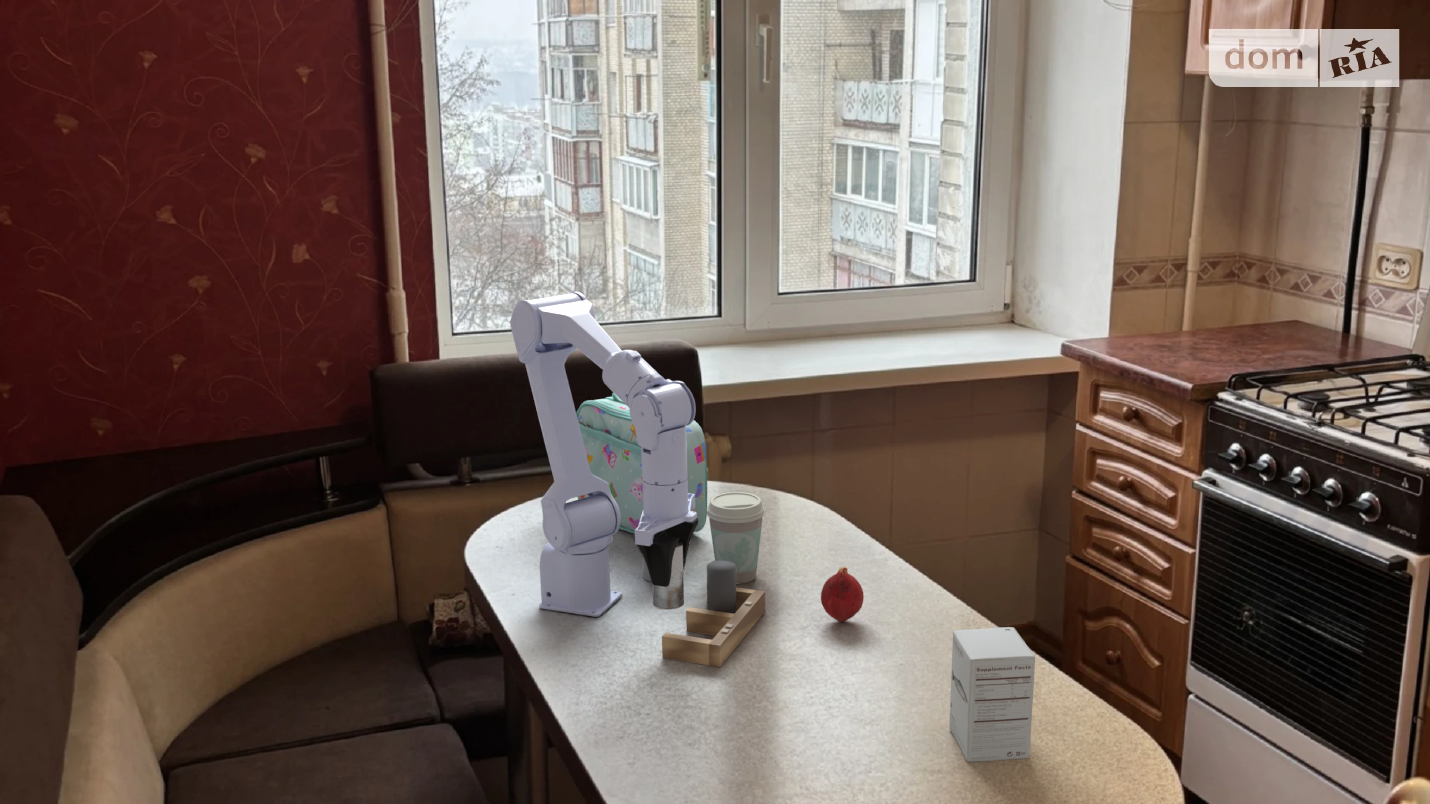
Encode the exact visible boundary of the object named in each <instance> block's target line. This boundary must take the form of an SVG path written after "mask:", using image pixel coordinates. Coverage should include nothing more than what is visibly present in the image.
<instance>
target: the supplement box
mask: <svg viewBox="0 0 1430 804" xmlns="http://www.w3.org/2000/svg"><path fill="white" fill-rule="evenodd" d="M951 649H952V650H951V652H952V655H951V675H950V676H951V677H950V696H949V697H950V699H949V701H950V703H949V722H948V723H949V726H948V727H949V730H950V732H951V733H952V735H953V737H954V739H955V740H956V742H957V743H958V746H959V748H960V750H961V751H962V754H963V756H964V759H965V760H966V761H967V762H968V763H973V762H975V763H977V762H990V761H991V762H992V761H1006V760H1021V759H1028V758H1030V756H1031V755H1030V754H1031V737H1032V736H1031V734H1032V719H1033V700H1034V689H1035V688H1034V686H1035V685H1034V684H1035V673H1036V672H1035V668H1036V667H1035V665H1036V657H1035V656H1036V655H1035V654H1034V653H1033V651H1032V650H1031V648H1030V647H1029V646H1028V645H1027V644H1026V642H1025V640H1024V639H1023V638H1022V637H1021V635H1020V634H1019V632H1018V631H1017V629H1016V628H1015V627H1011V626H1007V627H1006V626H1005V627H1003V626H1002V627H989V628H988V627H986V628H973V629H958V630H957V629H956V630H953V631H952V648H951Z"/></svg>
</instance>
